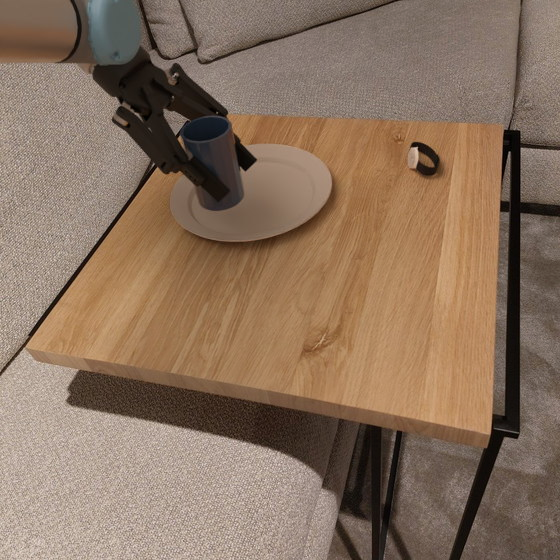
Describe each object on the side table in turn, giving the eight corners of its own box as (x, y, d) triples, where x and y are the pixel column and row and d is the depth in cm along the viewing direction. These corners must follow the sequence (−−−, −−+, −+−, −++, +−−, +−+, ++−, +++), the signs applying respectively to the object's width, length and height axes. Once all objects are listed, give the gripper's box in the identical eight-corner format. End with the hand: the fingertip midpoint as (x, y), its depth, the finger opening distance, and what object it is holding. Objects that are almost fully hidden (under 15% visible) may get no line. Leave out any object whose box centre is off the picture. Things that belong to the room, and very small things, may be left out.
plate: (214, 147, 105) (212, 137, 104) (352, 161, 97) (352, 151, 95) (142, 236, 89) (139, 226, 87) (300, 264, 80) (299, 253, 79)
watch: (402, 155, 96) (402, 136, 94) (430, 150, 96) (431, 131, 94) (415, 181, 91) (416, 161, 88) (445, 176, 91) (447, 156, 88)
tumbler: (189, 207, 83) (170, 139, 76) (210, 180, 88) (195, 113, 80) (232, 214, 81) (217, 145, 74) (252, 185, 85) (239, 117, 78)
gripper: (66, 72, 67) (213, 211, 72) (164, 6, 79) (285, 129, 84) (50, 108, 73) (187, 235, 78) (143, 42, 85) (258, 156, 90)
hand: (238, 180), depth 81 cm, fingers closed on tumbler, 7 cm apart
